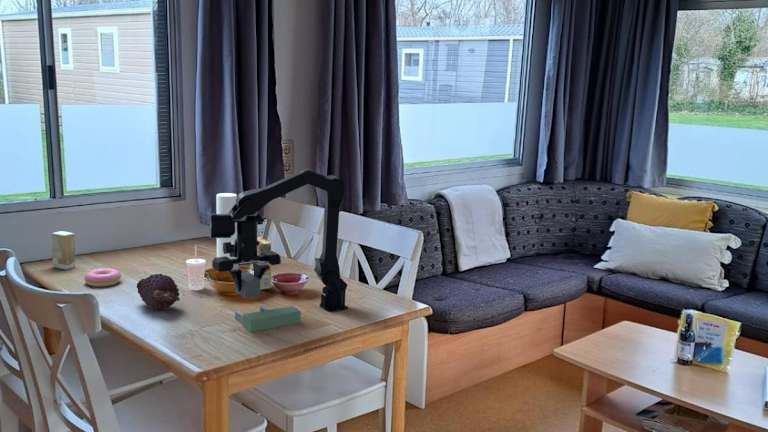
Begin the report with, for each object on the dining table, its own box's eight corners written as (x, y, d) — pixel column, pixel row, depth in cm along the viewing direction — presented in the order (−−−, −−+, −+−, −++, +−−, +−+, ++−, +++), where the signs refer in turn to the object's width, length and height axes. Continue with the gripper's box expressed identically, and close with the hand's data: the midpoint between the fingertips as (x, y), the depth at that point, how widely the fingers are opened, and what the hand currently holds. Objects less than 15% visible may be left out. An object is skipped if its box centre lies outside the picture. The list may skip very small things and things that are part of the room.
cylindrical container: (240, 261, 250) (240, 194, 245) (226, 265, 244) (226, 197, 239) (226, 258, 253) (226, 192, 249) (212, 261, 247) (212, 194, 243)
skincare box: (52, 267, 231) (50, 232, 229) (62, 264, 235) (60, 230, 233) (66, 270, 229) (64, 235, 227) (76, 267, 233) (75, 232, 231)
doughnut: (77, 284, 215) (76, 271, 214) (105, 276, 224) (105, 264, 224) (100, 290, 210) (100, 277, 209) (128, 282, 219) (128, 269, 219)
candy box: (271, 288, 219) (272, 242, 216) (259, 290, 216) (259, 244, 213) (260, 281, 226) (261, 237, 223) (248, 283, 224) (249, 238, 221)
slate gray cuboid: (248, 288, 198) (248, 272, 197) (260, 295, 191) (260, 279, 190) (234, 290, 195) (233, 274, 194) (245, 298, 189) (245, 281, 188)
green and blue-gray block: (281, 310, 198) (281, 298, 198) (300, 322, 189) (300, 310, 188) (233, 318, 190) (233, 306, 189) (250, 332, 180) (250, 319, 180)
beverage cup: (209, 288, 216) (209, 246, 213) (193, 292, 212) (192, 248, 209) (199, 284, 220) (199, 242, 217) (182, 287, 216) (181, 245, 213)
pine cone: (125, 304, 198) (124, 271, 196) (155, 297, 205) (154, 265, 203) (162, 318, 187) (161, 284, 185) (191, 310, 195) (191, 277, 193)
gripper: (264, 228, 202) (264, 278, 205) (204, 234, 191) (205, 287, 194) (281, 236, 193) (281, 288, 196) (219, 242, 182) (220, 297, 185)
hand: (247, 289), depth 193 cm, fingers closed on slate gray cuboid, 4 cm apart
